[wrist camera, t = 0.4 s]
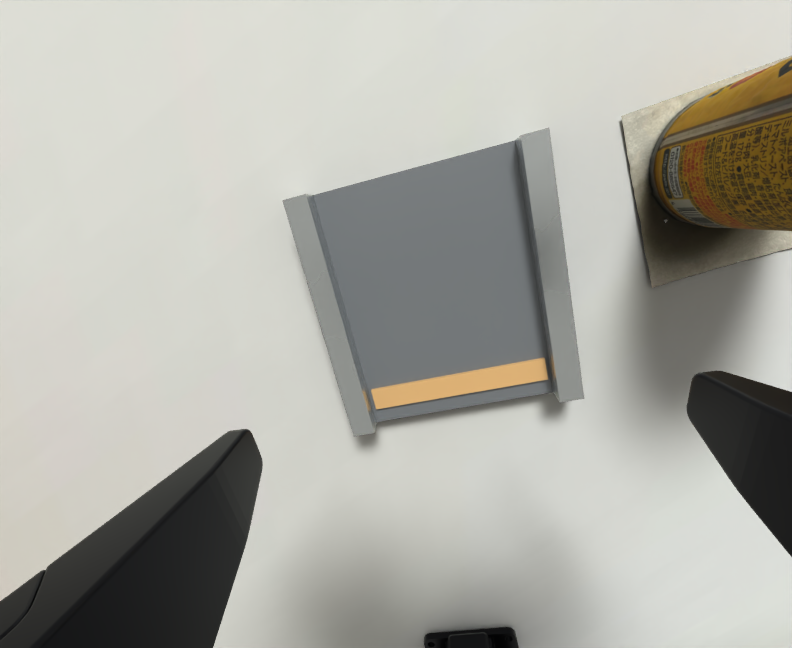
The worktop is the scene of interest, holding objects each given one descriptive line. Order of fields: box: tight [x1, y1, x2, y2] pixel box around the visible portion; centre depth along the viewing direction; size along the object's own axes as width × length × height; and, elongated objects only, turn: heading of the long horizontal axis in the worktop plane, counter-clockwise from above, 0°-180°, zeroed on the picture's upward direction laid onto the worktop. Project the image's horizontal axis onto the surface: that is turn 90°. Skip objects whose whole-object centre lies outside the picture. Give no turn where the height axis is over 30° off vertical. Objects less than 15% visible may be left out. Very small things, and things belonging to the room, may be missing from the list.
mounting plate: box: [314, 141, 553, 422], centre depth 21 cm, size 13×13×1 cm
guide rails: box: [283, 128, 584, 436], centre depth 20 cm, size 13×12×1 cm
